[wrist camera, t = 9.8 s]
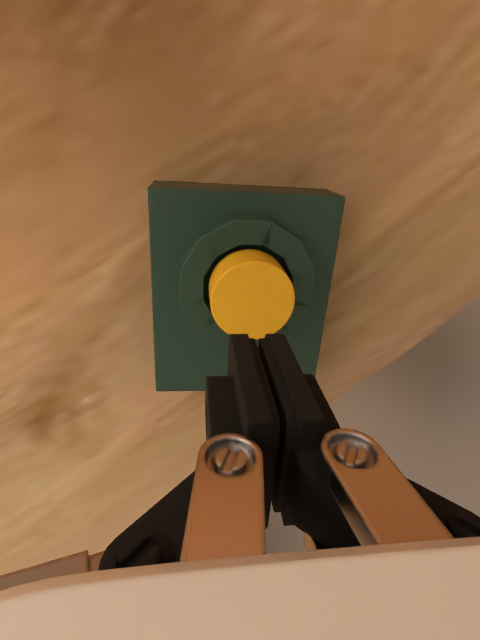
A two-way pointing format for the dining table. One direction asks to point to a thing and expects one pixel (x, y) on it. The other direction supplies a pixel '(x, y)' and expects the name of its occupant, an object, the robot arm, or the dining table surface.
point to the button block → (221, 240)
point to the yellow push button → (250, 294)
